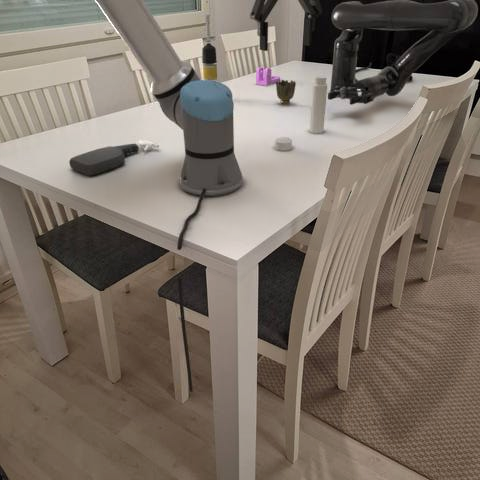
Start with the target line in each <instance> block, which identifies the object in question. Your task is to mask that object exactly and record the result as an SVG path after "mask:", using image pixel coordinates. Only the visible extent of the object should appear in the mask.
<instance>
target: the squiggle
mask: <svg viewBox="0 0 480 480" xmlns="http://www.w3.org/2000/svg"><path fill="white" fill-rule="evenodd" d="M405 52H406V51H403V53H402V54H401V55H396V54H394V53H392V52H390V53H387V55H386V57H385V61H386V64H387V67H392V68H394V69H395V71H396V72H397V70H396V62H397V61H398V60H399V59H400V58H401V56H402V55H403V54H404V53H405ZM391 59H392V60H391ZM393 60H394V61H393ZM397 74H398V73H397ZM413 79H414V77H413V74H412V75H411V76H410V77H409V79H408V81H412V80H413Z"/></svg>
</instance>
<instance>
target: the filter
mask: <svg viewBox="0 0 480 480" xmlns="http://www.w3.org/2000/svg"><path fill="white" fill-rule="evenodd" d="M210 17H211V14H204V18H205V27H206V29H205V30H206V31H205V33H206V39H207V40H206V42H207V43H206V45H204V46H202V49H201V50H202V51H201V52H202V54H201V55H202V57H201V58H202V61H201V63H202V71H203V72H202V73H203V74H202V75H203V80H210V81H214V82H216V80H218V64H216V63H218V61H217V48H216V47H215V46H214V45H212V43H210V42H211V40H210V39H211V31H210V29H211V28H210Z"/></svg>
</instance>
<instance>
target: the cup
mask: <svg viewBox="0 0 480 480" xmlns="http://www.w3.org/2000/svg"><path fill="white" fill-rule="evenodd" d="M296 85H297V82H296V80H294V81H293V80H291V81H290V82H289V80H288V79H287V80H286V79H285V80H284V79H282V80H280V81H278V82H276V83H275V88H276V96H277V98H278V99H279V100H280V101H279V102H280V105H284V106H285V105H289V104H290V103H291V100H292V99H293V98H294V95H295V91H296Z"/></svg>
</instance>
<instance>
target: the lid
mask: <svg viewBox="0 0 480 480" xmlns="http://www.w3.org/2000/svg"><path fill="white" fill-rule="evenodd" d="M274 148H275V150H276V151H281V152H286V151H290V150H292V148H293V139H292V138H290V137H285V136H284V137H278V138H277V137H276V138H275V139H274Z"/></svg>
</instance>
